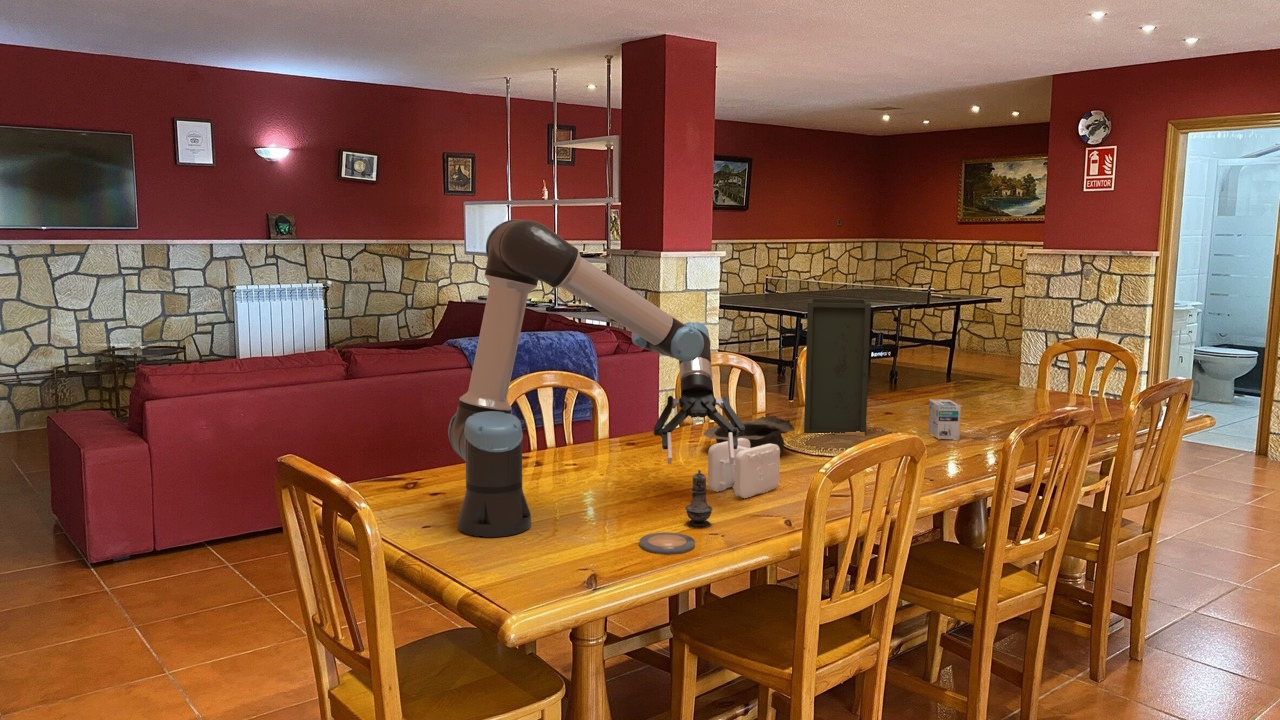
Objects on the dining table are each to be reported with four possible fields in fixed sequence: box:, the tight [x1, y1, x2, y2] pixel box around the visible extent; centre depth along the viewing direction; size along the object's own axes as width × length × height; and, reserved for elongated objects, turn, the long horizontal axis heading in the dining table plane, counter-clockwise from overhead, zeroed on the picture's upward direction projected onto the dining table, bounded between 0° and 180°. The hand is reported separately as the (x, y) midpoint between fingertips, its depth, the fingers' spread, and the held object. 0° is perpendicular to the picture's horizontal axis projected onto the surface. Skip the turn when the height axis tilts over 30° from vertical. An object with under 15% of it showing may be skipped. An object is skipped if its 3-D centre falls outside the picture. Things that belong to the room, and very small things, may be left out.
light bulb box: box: [927, 398, 962, 440], centre depth 293 cm, size 11×7×11 cm, turn 179°
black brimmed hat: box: [703, 416, 796, 454], centre depth 271 cm, size 25×25×9 cm
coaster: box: [639, 531, 696, 555], centre depth 193 cm, size 11×11×1 cm
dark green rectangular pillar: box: [803, 298, 872, 434], centre depth 301 cm, size 18×18×40 cm
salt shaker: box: [684, 469, 714, 529], centre depth 205 cm, size 6×6×12 cm
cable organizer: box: [707, 438, 781, 500], centre depth 231 cm, size 15×11×12 cm
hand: (700, 461), depth 212 cm, fingers open, 13 cm apart
